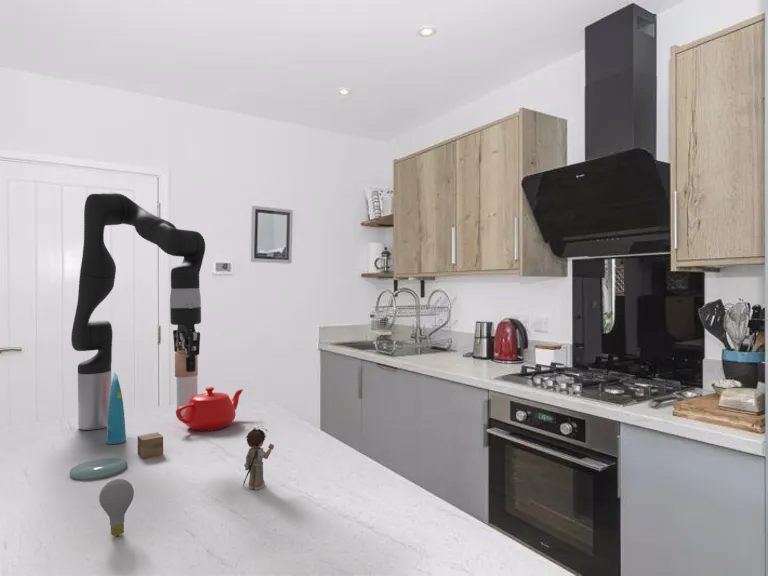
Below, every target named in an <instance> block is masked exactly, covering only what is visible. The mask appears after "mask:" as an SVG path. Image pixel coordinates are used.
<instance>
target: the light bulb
mask: <svg viewBox="0 0 768 576" xmlns="http://www.w3.org/2000/svg"><path fill="white" fill-rule="evenodd" d="M134 490H135V489H134V487H133V485H132V483H131V482H130V481H128V480H127V479H124V478H116V479H112V480H109V482H107V483H105V485H104V486H103V487H102V489H101V490H100V492H99V495H98V496H99V497H98V499H99V505H100V507H101V508H102V509H103V511H104V512H105V513H106V514H107V516H108V519H109V526H110V535H111V536H113V537H116V538H117V537H120V536H121V535H123V534H124V533H125V515H126V513H127V511H128V509H129V508H130V506H131V504H132V502H133V499H134V496H135V491H134Z"/></svg>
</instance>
